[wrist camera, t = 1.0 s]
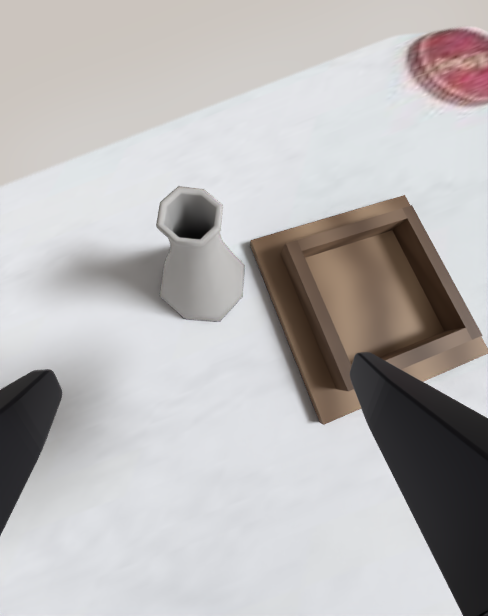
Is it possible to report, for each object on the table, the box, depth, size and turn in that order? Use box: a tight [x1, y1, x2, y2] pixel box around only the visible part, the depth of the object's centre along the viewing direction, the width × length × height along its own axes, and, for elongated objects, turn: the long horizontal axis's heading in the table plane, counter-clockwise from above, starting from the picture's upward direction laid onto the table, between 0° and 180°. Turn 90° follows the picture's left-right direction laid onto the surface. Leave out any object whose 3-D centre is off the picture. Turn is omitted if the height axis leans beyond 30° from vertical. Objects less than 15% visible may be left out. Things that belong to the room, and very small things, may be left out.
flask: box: [156, 186, 245, 322], centre depth 17 cm, size 7×7×10 cm
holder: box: [250, 195, 488, 425], centre depth 22 cm, size 16×16×3 cm
